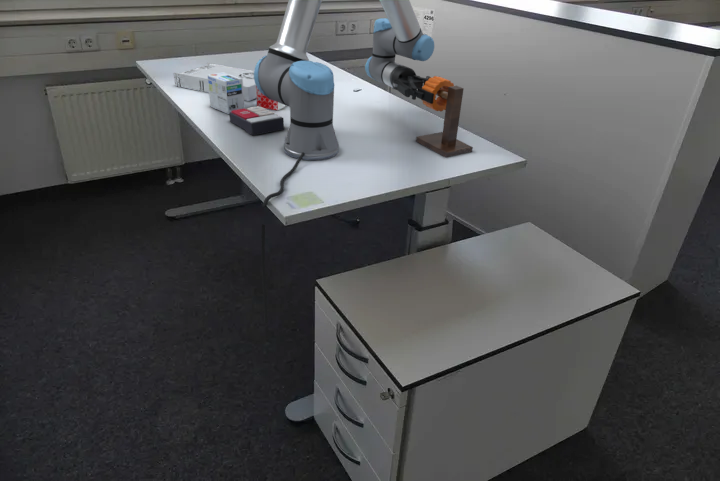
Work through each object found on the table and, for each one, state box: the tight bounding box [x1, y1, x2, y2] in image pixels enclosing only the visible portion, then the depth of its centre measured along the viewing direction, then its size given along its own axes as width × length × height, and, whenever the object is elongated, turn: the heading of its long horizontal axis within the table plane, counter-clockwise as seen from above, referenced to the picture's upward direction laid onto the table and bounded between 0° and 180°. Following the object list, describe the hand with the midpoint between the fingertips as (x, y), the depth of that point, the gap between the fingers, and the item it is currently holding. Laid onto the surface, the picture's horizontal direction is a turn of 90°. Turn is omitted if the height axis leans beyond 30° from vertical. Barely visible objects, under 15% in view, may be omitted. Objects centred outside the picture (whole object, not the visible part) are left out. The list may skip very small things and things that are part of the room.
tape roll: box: [421, 75, 455, 112], centre depth 162 cm, size 9×5×9 cm, turn 122°
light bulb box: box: [207, 72, 245, 115], centre depth 183 cm, size 11×7×11 cm, turn 47°
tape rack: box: [415, 85, 474, 158], centre depth 161 cm, size 16×10×18 cm, turn 32°
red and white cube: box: [256, 86, 287, 111], centre depth 189 cm, size 8×8×8 cm
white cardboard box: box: [173, 62, 257, 102], centre depth 206 cm, size 19×33×5 cm, turn 64°
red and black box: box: [228, 105, 285, 136], centre depth 172 cm, size 11×4×15 cm
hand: (445, 96), depth 159 cm, fingers closed on tape roll, 9 cm apart
